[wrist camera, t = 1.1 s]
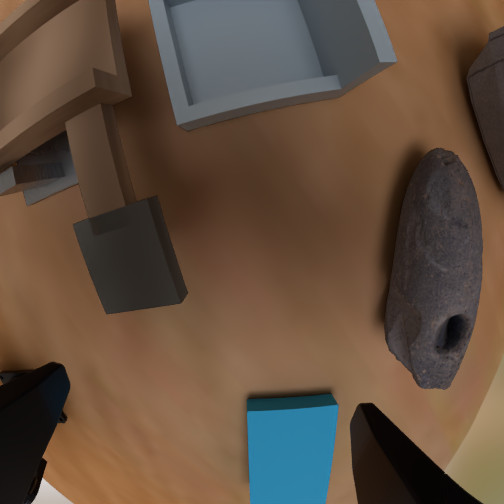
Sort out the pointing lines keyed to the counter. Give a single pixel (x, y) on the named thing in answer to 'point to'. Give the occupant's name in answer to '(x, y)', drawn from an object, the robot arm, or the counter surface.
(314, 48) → the bin
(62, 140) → the stand
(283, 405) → the blue piece
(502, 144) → the small grey backpack
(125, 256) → the lever
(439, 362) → the perforated stone tool
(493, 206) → the counter surface
